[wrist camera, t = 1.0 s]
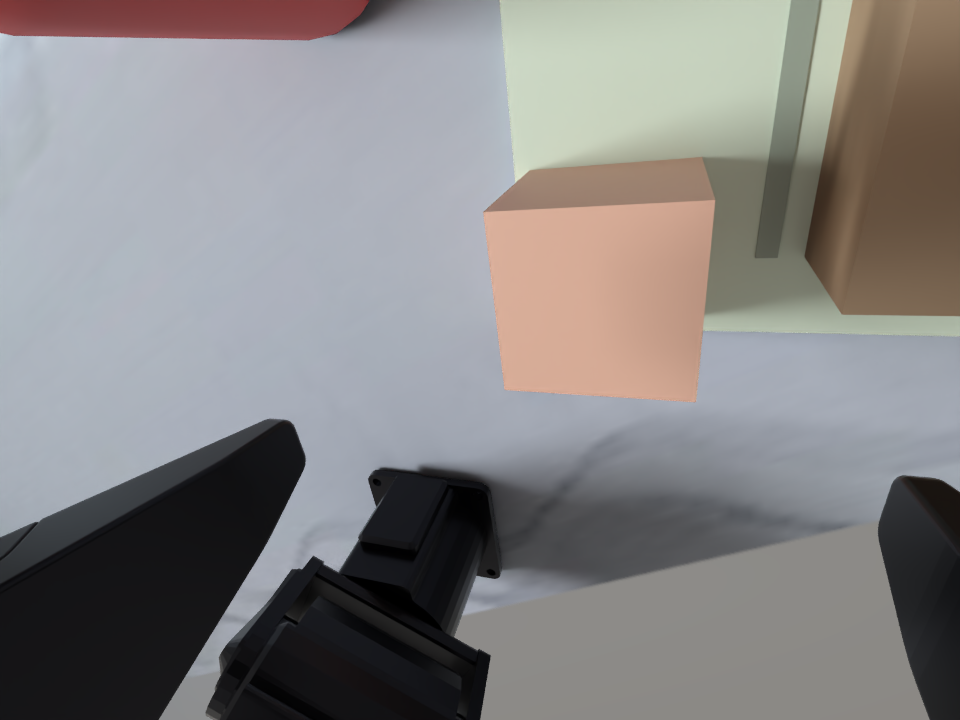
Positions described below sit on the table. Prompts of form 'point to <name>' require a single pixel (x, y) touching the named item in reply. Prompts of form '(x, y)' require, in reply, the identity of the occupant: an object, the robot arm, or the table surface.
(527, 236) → the cube
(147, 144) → the table surface
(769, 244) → the cream mat
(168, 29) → the beer can
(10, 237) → the table surface
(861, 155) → the base block
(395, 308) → the table surface
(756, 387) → the table surface
